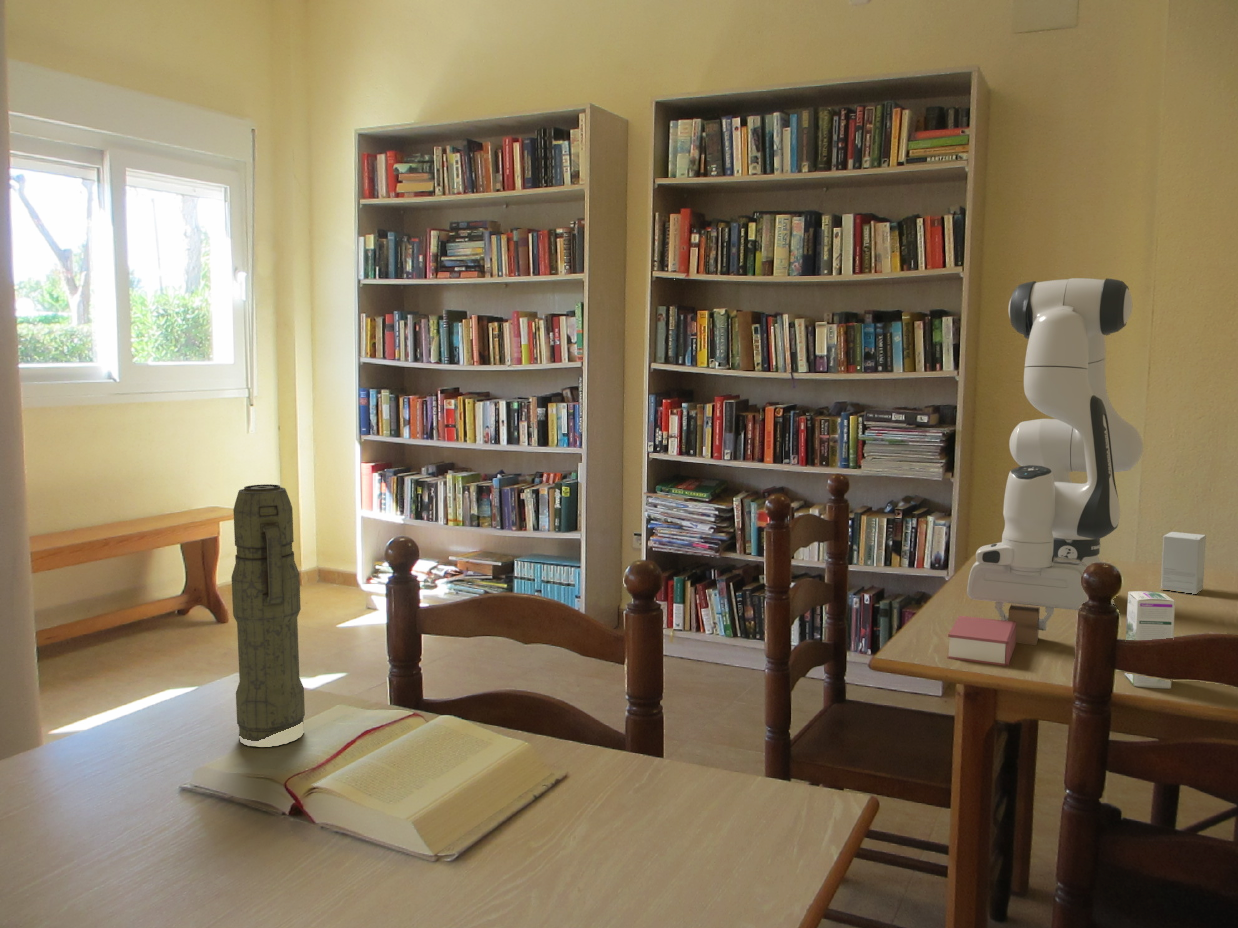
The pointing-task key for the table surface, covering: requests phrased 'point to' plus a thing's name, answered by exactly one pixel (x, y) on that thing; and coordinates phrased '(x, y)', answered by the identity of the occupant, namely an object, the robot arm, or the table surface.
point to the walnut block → (1025, 623)
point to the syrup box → (1149, 626)
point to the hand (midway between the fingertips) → (1023, 627)
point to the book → (982, 640)
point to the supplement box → (1183, 562)
